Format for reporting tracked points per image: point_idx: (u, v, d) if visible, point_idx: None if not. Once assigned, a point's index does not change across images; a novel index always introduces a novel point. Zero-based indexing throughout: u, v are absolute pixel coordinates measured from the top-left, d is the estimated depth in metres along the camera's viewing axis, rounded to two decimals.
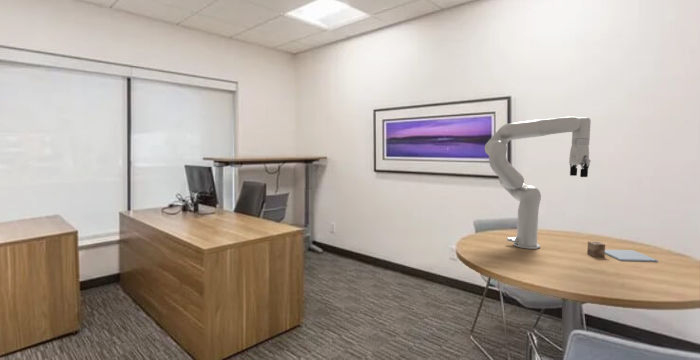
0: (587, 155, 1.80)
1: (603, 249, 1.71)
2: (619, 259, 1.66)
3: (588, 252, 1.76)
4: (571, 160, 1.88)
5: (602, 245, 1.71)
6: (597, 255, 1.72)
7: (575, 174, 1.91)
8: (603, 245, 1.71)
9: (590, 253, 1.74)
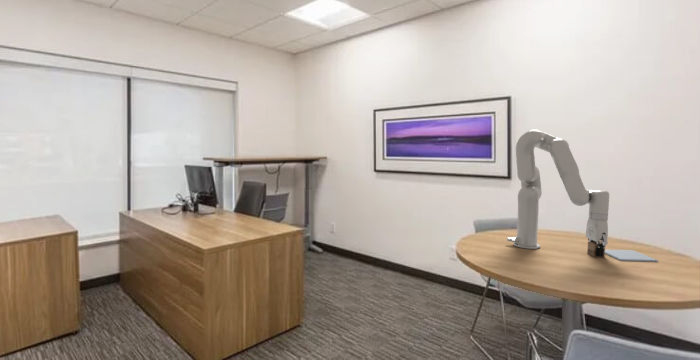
0: (606, 232, 1.68)
1: None
2: (619, 259, 1.66)
3: (588, 252, 1.76)
4: (588, 234, 1.76)
5: None
6: None
7: None
8: None
9: (590, 253, 1.74)
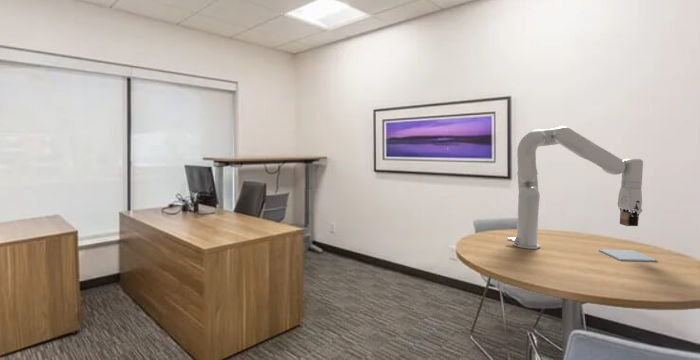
0: (640, 200, 1.66)
1: None
2: (619, 259, 1.66)
3: (620, 222, 1.74)
4: (620, 204, 1.74)
5: None
6: None
7: None
8: None
9: (623, 222, 1.72)
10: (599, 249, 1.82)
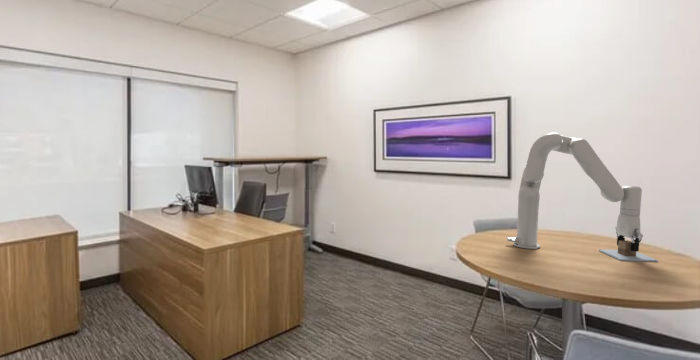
0: (638, 228, 1.67)
1: None
2: (619, 259, 1.66)
3: (618, 251, 1.75)
4: (619, 230, 1.75)
5: None
6: (628, 254, 1.71)
7: None
8: None
9: (621, 252, 1.73)
10: (599, 249, 1.82)
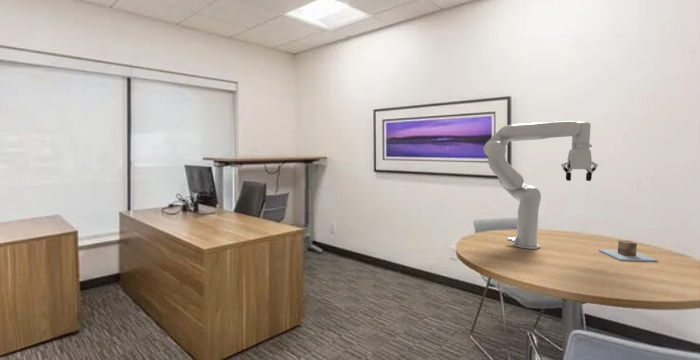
0: (570, 159, 1.85)
1: (635, 248, 1.70)
2: (619, 259, 1.66)
3: (618, 251, 1.75)
4: None
5: (634, 244, 1.70)
6: (628, 254, 1.71)
7: (588, 180, 1.86)
8: (635, 244, 1.70)
9: (621, 252, 1.73)
10: (599, 249, 1.82)
